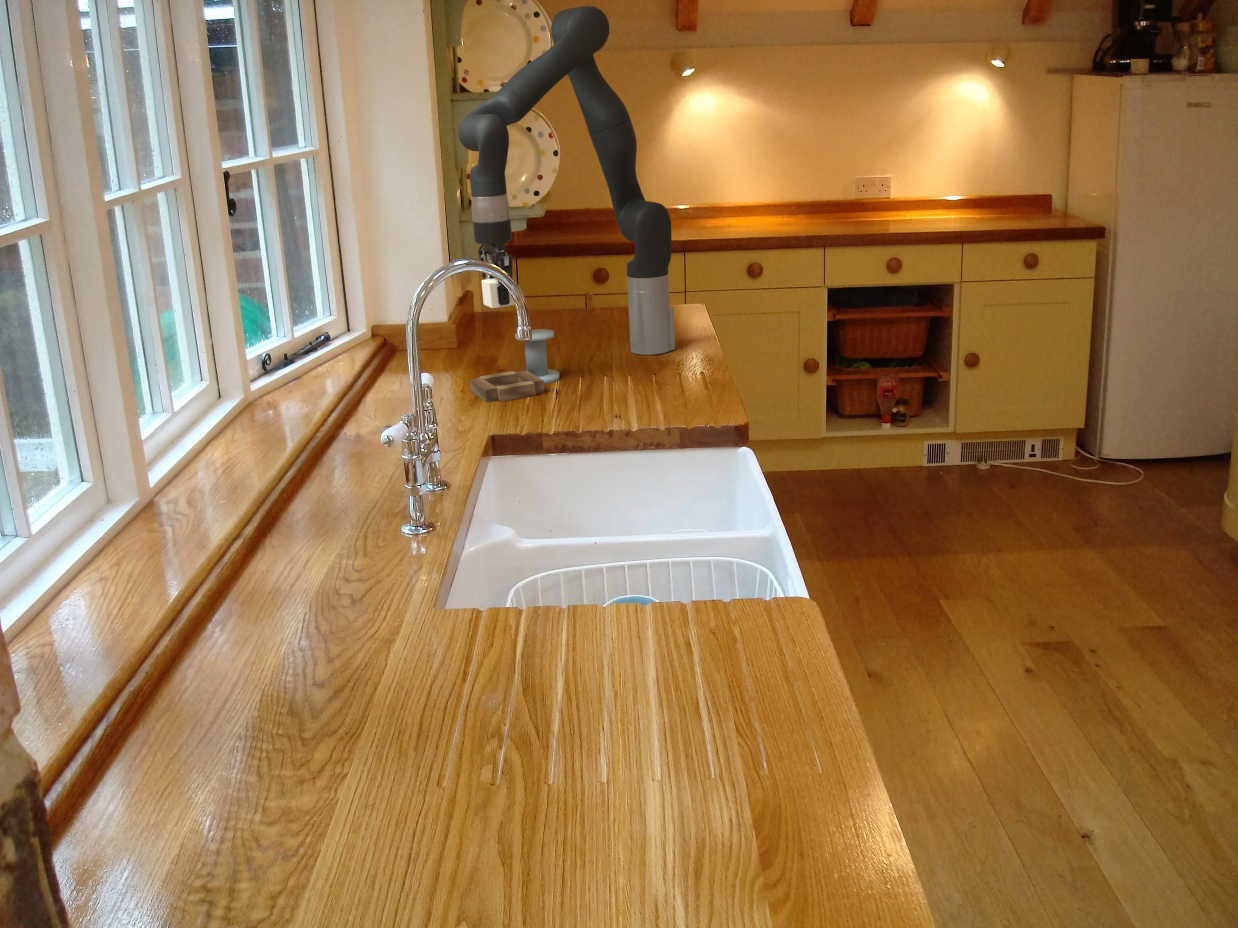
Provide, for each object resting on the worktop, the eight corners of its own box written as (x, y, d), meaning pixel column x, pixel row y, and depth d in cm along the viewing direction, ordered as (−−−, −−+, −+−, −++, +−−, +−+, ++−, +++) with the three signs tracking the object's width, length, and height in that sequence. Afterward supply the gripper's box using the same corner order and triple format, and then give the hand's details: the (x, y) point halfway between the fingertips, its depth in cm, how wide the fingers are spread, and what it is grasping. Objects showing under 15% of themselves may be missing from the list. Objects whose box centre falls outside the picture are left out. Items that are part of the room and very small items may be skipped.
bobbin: (549, 371, 261) (546, 326, 257) (566, 380, 253) (562, 333, 250) (510, 378, 257) (506, 332, 254) (525, 386, 249) (521, 340, 246)
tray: (525, 381, 254) (524, 369, 253) (546, 393, 243) (545, 381, 242) (468, 390, 249) (467, 378, 248) (488, 403, 239) (487, 391, 238)
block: (506, 301, 251) (504, 277, 249) (515, 304, 247) (512, 280, 245) (483, 304, 249) (481, 280, 247) (491, 308, 245) (489, 283, 243)
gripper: (521, 219, 238) (529, 305, 243) (496, 213, 250) (504, 295, 255) (485, 223, 235) (494, 310, 240) (462, 217, 247) (470, 300, 252)
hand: (499, 302), depth 248 cm, fingers closed on block, 5 cm apart
